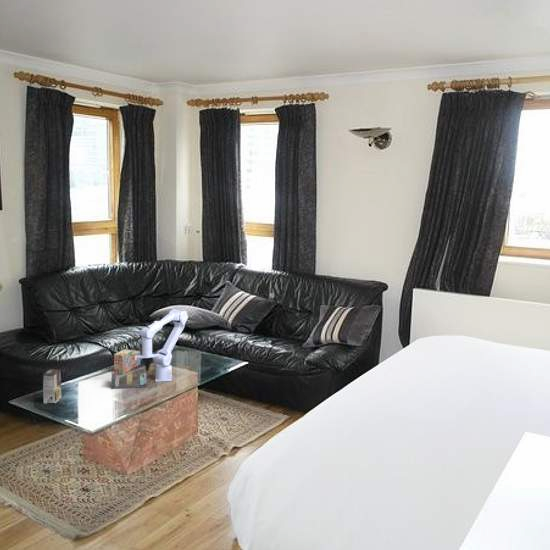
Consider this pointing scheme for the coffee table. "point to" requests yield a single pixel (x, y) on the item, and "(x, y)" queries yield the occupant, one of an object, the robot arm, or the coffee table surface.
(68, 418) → the coffee table surface
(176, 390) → the coffee table surface
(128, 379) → the brass block
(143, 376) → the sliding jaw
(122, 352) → the stack of blocks
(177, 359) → the coffee table surface
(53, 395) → the coffee box
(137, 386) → the grey slab
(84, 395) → the coffee table surface
